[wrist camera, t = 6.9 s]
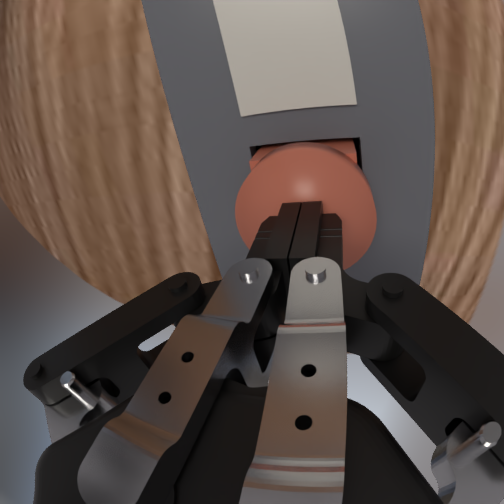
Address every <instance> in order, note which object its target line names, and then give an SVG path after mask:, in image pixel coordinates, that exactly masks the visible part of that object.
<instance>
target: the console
mask: <svg viewBox="0 0 504 504" xmlns="http://www.w3.org/2000/svg"><path fill="white" fill-rule="evenodd" d="M142 4H143V9H144V13H145V17H146V21H147V26H148V30H149V34H150V38H151V42H152V46H153V50H154V54H155V58H156V62H157V65H158V69H159V73H160V77H161V80H162V84H163V88H164V92H165V95H166V99H167V102H168V106H169V110H170V113H171V117H172V120H173V124H174V127H175V131H176V134H177V138H178V141H179V144H180V148H181V151H182V154H183V158H184V161H185V164H186V168H187V171H188V174H189V177H190V181H191V184H192V187H193V190H194V194H195V197H196V200H197V203H198V206H199V209H200V212H201V216H202V219H203V222H204V225H205V228H206V231H207V234H208V237H209V240H210V243H211V246H212V249H213V252H214V255H215V258H216V261H217V264H218V267H219V270H220V273H221V275H222V278H223V277H224V276H225V274H226V272H227V271H228V269H229V268H230V267H231V266H232V265H234V264H235V263H237V262H239V261H241V260H244V259H246V257H247V255H248V252H249V248H248V247H247V246H246V244H245V243H244V241H243V239H242V237H241V235H240V233H239V231H238V228H237V224H236V219H235V204H236V199H237V195H238V192H239V190H240V188H241V186H242V184H243V182H244V181H245V179H246V178H247V176H248V175H249V174H250V172H251V168H250V164H249V161H250V160H251V158H252V157H253V156H254V155H255V153H256V152H257V151H258V150H259V149H260V147H261V146H262V145H266V144H275V143H284V142H294V141H305V140H318V139H333V138H352V139H353V142H354V146H355V150H356V156H357V165H358V166H359V167H360V169H361V170H362V171H363V173H364V174H365V176H366V178H367V180H368V182H369V185H370V188H371V191H372V195H373V200H374V204H375V208H376V215H377V224H376V231H375V235H374V238H373V240H372V243H371V245H370V247H369V248H368V250H367V251H366V253H365V254H364V255H363V256H362V257H361V258H360V259H359V260H358V261H357V262H356V263H355V264H353V265H352V266H351V267H349V268H347V269H345V270H344V271H345V272H346V274H348V275H349V276H350V277H352V278H354V279H356V280H359V281H363V282H367V283H369V281H370V280H371V279H372V278H374V277H375V276H377V275H380V274H383V273H398V274H402V275H404V276H406V277H408V278H410V279H411V280H412V281H414V282H415V283H416V284H418V285H420V280H421V275H422V270H423V264H424V259H425V253H426V247H427V240H428V233H429V225H430V217H431V207H432V196H433V182H434V160H435V122H434V101H433V88H432V77H431V68H430V60H429V53H428V47H427V41H426V35H425V30H424V25H423V20H422V15H421V11H420V7H419V3H418V0H142Z"/></svg>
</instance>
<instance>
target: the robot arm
mask: <svg viewBox="0 0 504 504" xmlns="http://www.w3.org/2000/svg"><path fill="white" fill-rule="evenodd" d="M171 324H174V326H175V327H176V328H175V330H174V332H173V333H172V335H171V336H170V338H169V339H168V340H166V341H165V342H163V343H161V344H160V345H158V346H156V347H155V348H153V349H152V350H150V351H141V350H140V349H139V348H138V346H139V345H140V344H141V343H142V342H143V341H145V340H147V339H149V338H150V337H152V336H153V335H155V334H157V333H158V332H160V331H161V330H163V329H165V328H166V327H168V326H170V325H171ZM347 352H350V353H353V354H356V355H359V356H360V358H361V360H362V362H363V364H364V365H365V366H366V367H367V368H368V369H369V371H370V372H371V373H372V374H373V375H374V376H375V377H376V378H377V379H378V381H379V382H380V383H381V384H382V385H383V386H384V387H385V389H386V390H387V391H388V392H389V393H390V394H391V395H392V396H393V397H394V399H395V400H396V401H397V402H398V403H399V404H400V405H401V406H402V408H403V409H404V410H405V411H406V412H407V413H408V414H409V416H410V417H411V418H412V419H413V420H414V421H415V422H416V423H417V425H418V426H419V427H420V428H421V429H422V430H423V431H424V432H425V434H426V435H427V436H428V437H429V438H430V439H431V440H432V442H433V443H434V444H435V445H436V446H437V447H436V449H435V451H434V453H433V455H432V459H431V469H432V473H433V475H434V476H435V478H436V480H437V483H438V488H439V491H438V495H437V494H436V492H435V491H434V490H433V488H432V487H431V486H430V484H429V483H428V482H427V480H426V479H425V478H424V476H423V475H422V474H421V473H420V471H419V470H418V469H417V467H416V466H415V465H414V463H413V462H412V461H411V460H410V458H409V457H408V456H407V454H406V453H405V452H404V450H403V449H402V448H401V446H400V445H399V444H398V442H397V441H396V440H395V438H394V437H393V436H392V434H391V433H390V432H389V431H388V429H387V428H386V426H385V425H384V424H383V423H382V421H380V419H379V418H378V417H377V416H376V415H375V414H374V413H373V412H371V411H370V410H369V409H367V408H366V407H365V406H363V405H361V404H359V403H358V402H356V401H353V400H351V399H348V398H347ZM23 381H24V386H25V387H26V388H27V389H28V390H29V391H30V392H31V393H32V394H33V395H34V396H36V397H37V398H38V399H39V400H40V401H41V402H42V403H43V405H44V407H45V412H46V418H47V424H48V428H49V433H50V438H51V442H52V444H51V445H50V446H49V447H48V448H46V450H45V451H44V452H43V453H42V455H41V457H40V459H39V461H38V464H37V466H36V472H35V492H34V493H35V494H34V501H33V504H499V503H500V502H501V501H502V500H503V499H504V355H503V354H502V353H501V352H500V351H499V350H498V349H497V348H495V347H494V346H493V345H492V344H491V343H490V342H489V341H487V340H486V339H485V338H484V337H483V336H481V335H480V334H479V333H478V332H477V331H476V330H475V329H473V328H472V327H471V326H470V325H469V324H467V323H466V322H465V321H464V320H462V319H461V318H460V317H459V316H458V315H456V314H455V313H454V312H453V311H451V310H450V309H449V308H448V307H446V306H445V305H444V304H443V303H441V302H440V301H439V300H437V299H436V298H435V297H434V296H432V295H431V294H430V293H428V292H427V291H426V290H424V289H423V288H422V287H420V286H419V285H418V284H416V283H415V282H414V281H412V280H411V279H410V278H408V277H406V276H404V275H402V274H398V273H383V274H380V275H377V276H375V277H374V278H372V279H371V280H370V281H369V283H367V282H363V281H359V280H356V279H354V278H352V277H350V276H349V275H348V274H346V272H345V271H344V270H343V236H342V220H341V219H340V217H339V216H338V215H337V214H336V213H327V214H324V213H323V204H322V201H308V202H290V203H282V205H281V208H280V210H279V213H278V216H269V217H268V218H267V219H266V220H265V221H263V222H262V223H261V225H260V227H259V230H258V233H257V234H256V237H255V240H254V241H253V243H252V246H251V248H250V250H249V252H248V255H247V257H246V259H244V260H241V261H239V262H237V263H235V264H234V265H232V266H231V267H230V268H229V269H228V271H227V272H226V274H225V276H224V277H223V279H222V280H219V281H214V282H209V283H205V284H202V283H201V281H200V278H199V276H198V275H196V274H194V273H191V272H183V273H179V274H176V275H173V276H171V277H170V278H168V279H166V280H164V281H163V282H161V283H159V284H158V285H156V286H154V287H153V288H151V289H149V290H147V291H146V292H144V293H142V294H141V295H139V296H137V297H136V298H134V299H132V300H131V301H129V302H127V303H126V304H124V305H122V306H121V307H119V308H117V309H116V310H114V311H112V312H111V313H109V314H107V315H106V316H104V317H102V318H101V319H99V320H97V321H96V322H94V323H93V324H91V325H89V326H88V327H86V328H84V329H83V330H81V331H79V332H78V333H76V334H75V335H73V336H71V337H70V338H68V339H66V340H65V341H63V342H62V343H60V344H58V345H57V346H55V347H54V348H52V349H50V350H49V351H47V352H46V353H44V354H42V355H41V356H39V357H38V358H36V359H35V360H33V361H32V362H31V363H30V365H29V366H28V368H27V369H26V371H25V374H24V379H23ZM268 381H269V383H268Z"/></svg>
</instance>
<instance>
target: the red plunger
mask: <svg viewBox="0 0 504 504" xmlns="http://www.w3.org/2000/svg"><path fill="white" fill-rule="evenodd" d="M249 164H250V168H251V172H250V174H249V175H248V176H247V178H246V179H245V181H244V182H243V184H242V186H241V188H240V190H239V192H238V195H237V199H236V204H235V219H236V224H237V228H238V231H239V233H240V235H241V237H242V239H243V241H244V243H245V244H246V246H247V247H248V248H249V250H250V248H251V246H252V243H253V241H254V240H255V237H256V234H257V233H258V230H259V227H260V225H261V223H262V222H263V221H265V220H266V219H267V218H268V217H269V216H278V213H279V210H280V208H281V205H282V203H290V202H308V201H322V204H323V213H324V214H327V213H336V214H337V215H338V216H339V217H340V219H341V220H342V236H343V270H345V269H347V268H349V267H351V266H352V265H353V264H355V263H356V262H357V261H358V260H359V259H360V258H361V257H362V256H363V255H364V254H365V253H366V251H367V250H368V248H369V247H370V245H371V243H372V240H373V238H374V235H375V231H376V224H377V215H376V208H375V204H374V200H373V195H372V191H371V188H370V185H369V182H368V180H367V178H366V176H365V174H364V173H363V171H362V170H361V169H360V167H359V166H358V165H357V156H356V150H355V146H354V142H353V139H352V138H333V139H318V140H305V141H294V142H284V143H275V144H266V145H262V146H261V147H260V149H259V150H258V151H257V152H256V153H255V155H254V156H253V157H252V158H251V160H250V161H249Z"/></svg>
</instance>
